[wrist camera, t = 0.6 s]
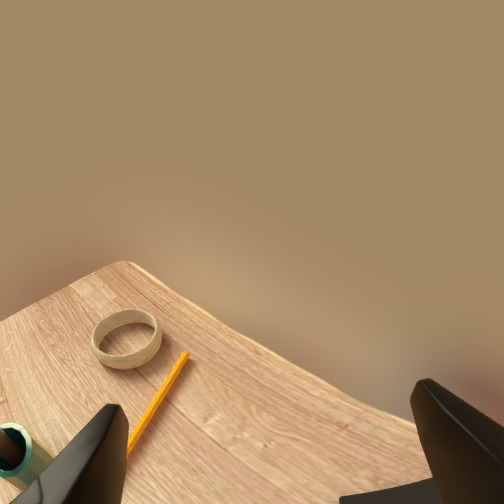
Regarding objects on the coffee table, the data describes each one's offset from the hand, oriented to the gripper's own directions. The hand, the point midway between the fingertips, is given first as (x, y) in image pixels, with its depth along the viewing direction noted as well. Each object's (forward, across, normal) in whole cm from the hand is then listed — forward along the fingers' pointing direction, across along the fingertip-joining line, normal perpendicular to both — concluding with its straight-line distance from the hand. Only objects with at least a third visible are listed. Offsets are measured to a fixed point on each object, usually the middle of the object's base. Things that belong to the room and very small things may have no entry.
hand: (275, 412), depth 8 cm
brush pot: (+3, +19, +16) cm, 25 cm away
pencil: (+10, +10, +16) cm, 21 cm away
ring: (+20, +13, +15) cm, 28 cm away
